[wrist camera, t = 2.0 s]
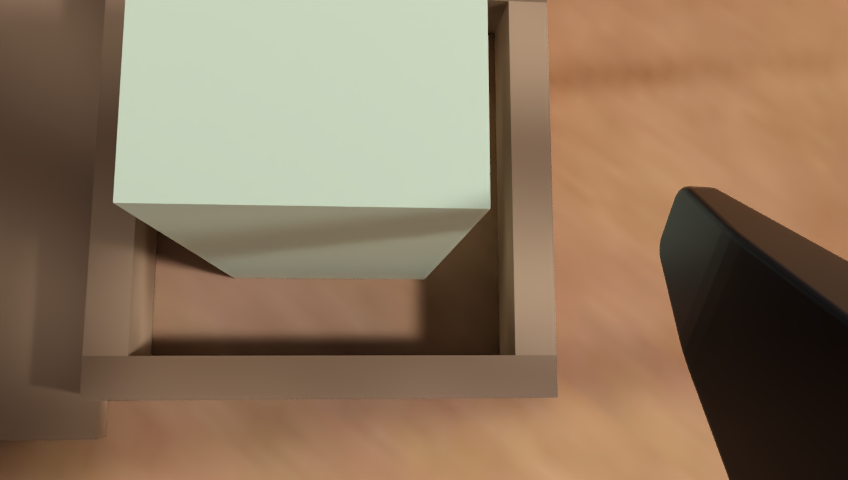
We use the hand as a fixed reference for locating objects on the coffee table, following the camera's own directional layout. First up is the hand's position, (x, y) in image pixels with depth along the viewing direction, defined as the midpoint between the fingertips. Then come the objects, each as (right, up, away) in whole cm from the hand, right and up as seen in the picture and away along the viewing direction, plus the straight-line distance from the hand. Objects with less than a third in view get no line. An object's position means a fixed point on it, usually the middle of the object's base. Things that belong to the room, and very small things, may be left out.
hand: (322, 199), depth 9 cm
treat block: (-1, +1, +11) cm, 11 cm away
